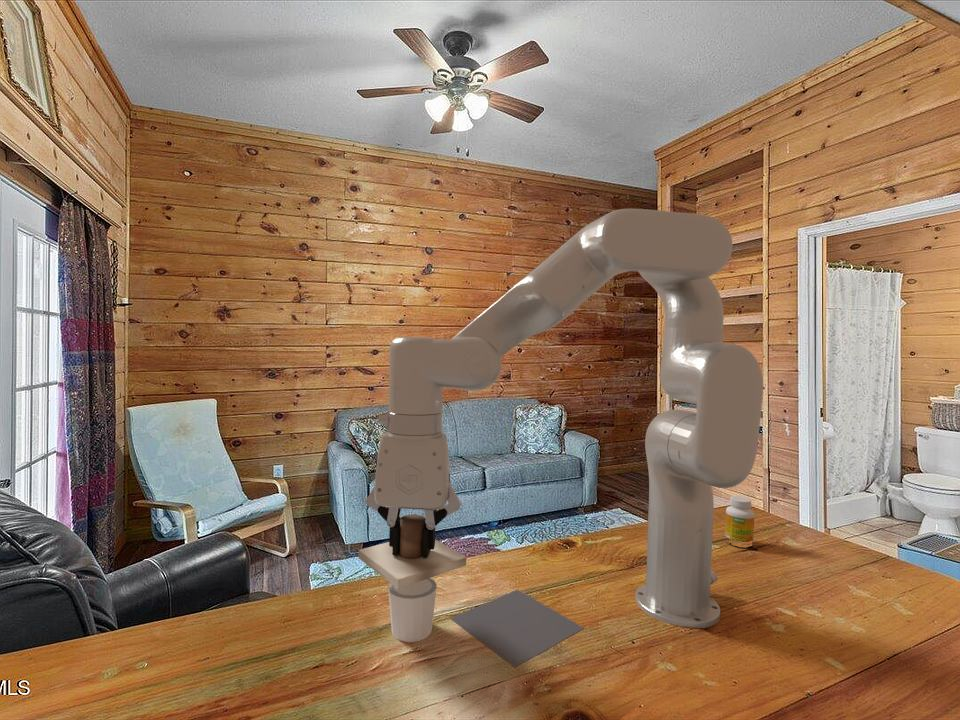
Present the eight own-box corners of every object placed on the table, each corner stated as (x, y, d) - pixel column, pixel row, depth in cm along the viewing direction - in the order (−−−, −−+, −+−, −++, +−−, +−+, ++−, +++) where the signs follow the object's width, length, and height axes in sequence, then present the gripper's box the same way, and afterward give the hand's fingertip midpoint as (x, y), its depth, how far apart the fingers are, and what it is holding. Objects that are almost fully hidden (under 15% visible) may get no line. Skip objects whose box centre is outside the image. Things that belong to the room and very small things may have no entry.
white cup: (427, 651, 67) (428, 600, 67) (379, 644, 68) (380, 594, 68) (441, 623, 74) (442, 576, 73) (397, 617, 75) (398, 571, 75)
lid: (423, 540, 78) (423, 501, 78) (466, 565, 70) (467, 522, 70) (358, 558, 71) (359, 515, 71) (397, 588, 63) (399, 540, 62)
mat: (517, 592, 83) (517, 589, 83) (584, 631, 72) (584, 628, 72) (449, 621, 74) (449, 618, 74) (514, 670, 63) (515, 666, 63)
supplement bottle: (729, 547, 103) (731, 501, 103) (721, 537, 109) (723, 493, 108) (757, 550, 102) (759, 503, 102) (747, 539, 108) (749, 495, 107)
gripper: (348, 426, 67) (346, 560, 67) (470, 431, 65) (466, 568, 66) (366, 417, 74) (363, 538, 75) (476, 422, 73) (472, 545, 73)
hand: (412, 551), depth 70 cm, fingers closed on lid, 3 cm apart
